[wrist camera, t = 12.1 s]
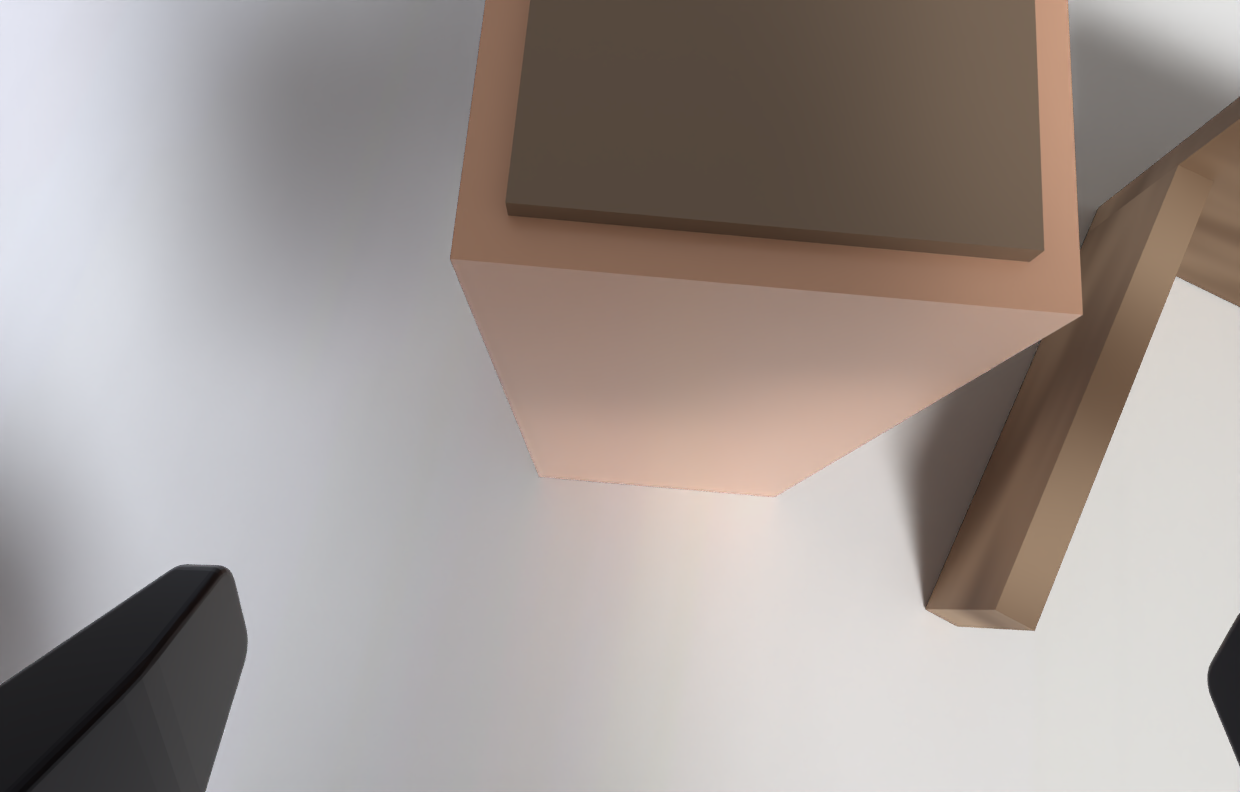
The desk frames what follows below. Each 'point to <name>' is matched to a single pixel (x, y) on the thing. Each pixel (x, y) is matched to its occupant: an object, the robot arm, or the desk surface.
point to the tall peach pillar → (760, 223)
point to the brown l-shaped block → (1092, 376)
